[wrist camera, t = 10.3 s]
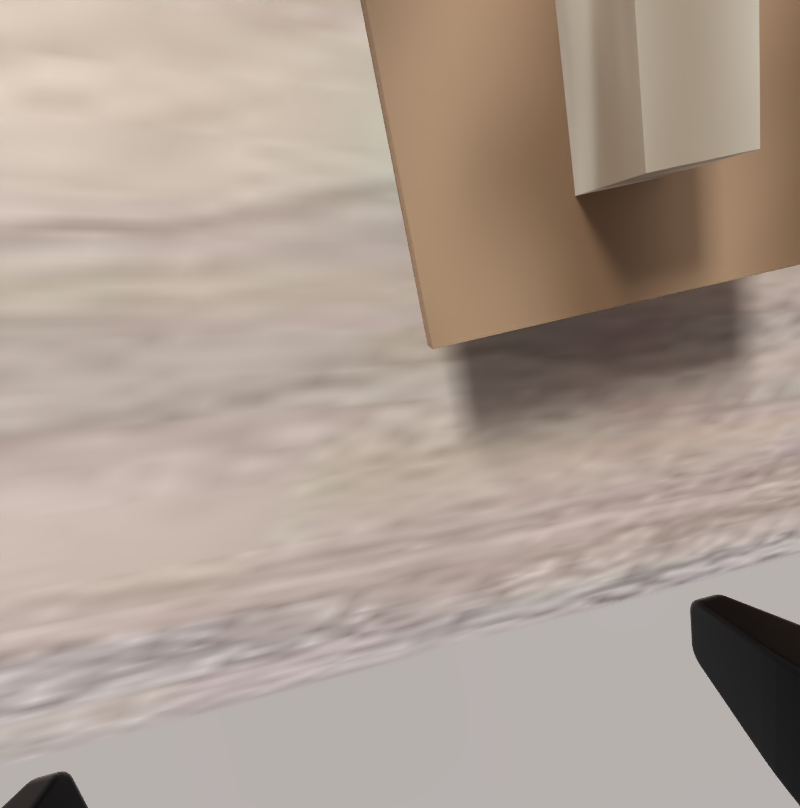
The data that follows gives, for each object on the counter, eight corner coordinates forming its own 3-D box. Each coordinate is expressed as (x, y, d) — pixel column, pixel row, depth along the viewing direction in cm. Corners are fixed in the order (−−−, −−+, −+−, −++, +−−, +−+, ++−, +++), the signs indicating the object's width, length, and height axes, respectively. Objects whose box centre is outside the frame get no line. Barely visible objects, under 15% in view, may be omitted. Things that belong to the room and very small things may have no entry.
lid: (795, -221, 12) (1007, -449, 8) (791, 261, 15) (942, 257, 11) (332, -144, 11) (329, -354, 7) (427, 345, 14) (459, 370, 10)
